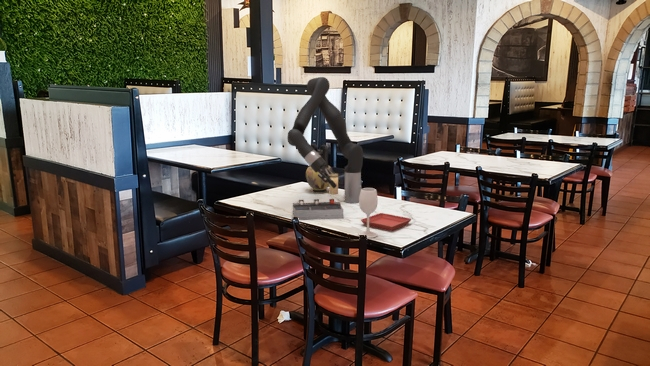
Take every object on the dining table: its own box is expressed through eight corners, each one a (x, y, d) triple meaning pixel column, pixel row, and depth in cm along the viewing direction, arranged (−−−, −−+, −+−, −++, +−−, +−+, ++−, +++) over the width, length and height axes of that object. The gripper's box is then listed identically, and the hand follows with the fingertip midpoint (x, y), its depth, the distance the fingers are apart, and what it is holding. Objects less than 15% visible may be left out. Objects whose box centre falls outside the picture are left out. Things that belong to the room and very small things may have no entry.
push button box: (339, 211, 265) (339, 198, 263) (343, 218, 252) (343, 204, 251) (292, 213, 262) (292, 199, 260) (294, 220, 249) (293, 205, 248)
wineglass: (354, 235, 225) (354, 189, 220) (366, 231, 231) (367, 186, 226) (368, 239, 219) (369, 192, 214) (381, 235, 224) (382, 189, 220)
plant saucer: (380, 218, 253) (381, 212, 252) (412, 224, 242) (412, 218, 241) (359, 226, 239) (359, 219, 239) (391, 233, 228) (392, 226, 227)
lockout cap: (337, 192, 256) (337, 173, 254) (338, 194, 252) (338, 175, 250) (328, 192, 256) (328, 173, 254) (329, 194, 251) (329, 175, 249)
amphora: (300, 192, 311) (299, 144, 305) (316, 187, 325) (316, 141, 318) (322, 196, 301) (322, 146, 295) (338, 191, 314) (339, 143, 308)
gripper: (314, 158, 246) (337, 184, 244) (325, 154, 259) (347, 178, 257) (304, 168, 249) (327, 193, 247) (316, 163, 262) (337, 188, 260)
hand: (337, 186), depth 252 cm, fingers closed on lockout cap, 4 cm apart
